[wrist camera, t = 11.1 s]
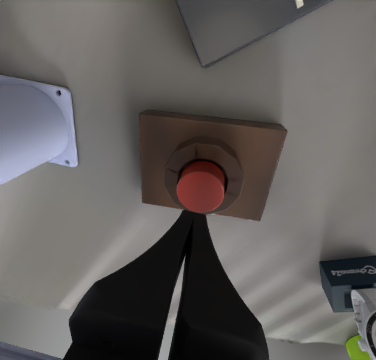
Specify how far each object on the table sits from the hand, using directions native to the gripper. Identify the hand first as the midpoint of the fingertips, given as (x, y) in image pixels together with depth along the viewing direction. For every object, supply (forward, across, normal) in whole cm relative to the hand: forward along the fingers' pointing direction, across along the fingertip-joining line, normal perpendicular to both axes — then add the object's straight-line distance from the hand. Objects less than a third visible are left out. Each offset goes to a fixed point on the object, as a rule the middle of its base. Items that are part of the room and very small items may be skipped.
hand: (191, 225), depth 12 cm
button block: (+9, 0, 0) cm, 9 cm away
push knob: (+6, 0, 0) cm, 6 cm away
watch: (+10, -19, +10) cm, 23 cm away
